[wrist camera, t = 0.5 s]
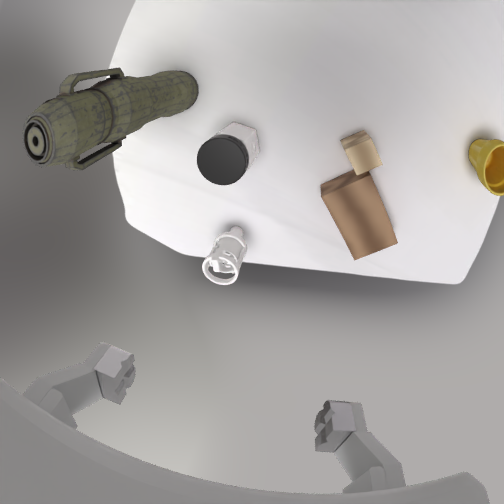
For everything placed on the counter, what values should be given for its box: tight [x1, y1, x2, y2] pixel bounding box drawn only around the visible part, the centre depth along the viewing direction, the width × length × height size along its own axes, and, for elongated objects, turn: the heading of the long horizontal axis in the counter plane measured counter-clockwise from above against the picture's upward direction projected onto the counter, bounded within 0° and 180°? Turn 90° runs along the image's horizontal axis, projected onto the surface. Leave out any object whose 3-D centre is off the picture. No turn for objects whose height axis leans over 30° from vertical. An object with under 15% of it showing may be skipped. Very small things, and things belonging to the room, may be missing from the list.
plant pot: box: [469, 139, 504, 196], centre depth 36 cm, size 10×10×10 cm
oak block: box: [341, 130, 383, 175], centre depth 44 cm, size 5×5×7 cm
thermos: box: [23, 68, 198, 170], centre depth 33 cm, size 9×12×35 cm
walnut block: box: [321, 170, 398, 260], centre depth 52 cm, size 10×16×6 cm, turn 34°
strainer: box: [202, 226, 247, 285], centre depth 58 cm, size 7×7×15 cm
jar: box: [197, 122, 260, 185], centre depth 47 cm, size 9×8×12 cm
